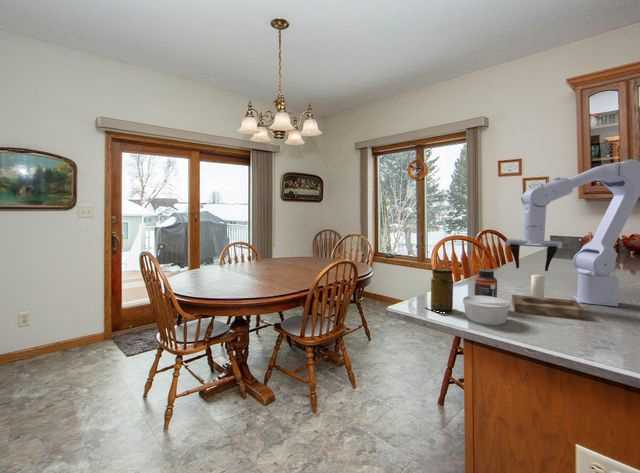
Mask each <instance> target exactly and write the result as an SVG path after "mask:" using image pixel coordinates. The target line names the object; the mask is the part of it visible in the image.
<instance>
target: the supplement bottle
mask: <svg viewBox="0 0 640 473" xmlns="http://www.w3.org/2000/svg"><path fill="white" fill-rule="evenodd" d="M476 295H478V296H491V297H497V298H498V279H497V278H496V277H495V272H494V270H492V269H486V268H485V269H484V268H483V269H482V268H481V269H478V276H475V278H474V296H476Z"/></svg>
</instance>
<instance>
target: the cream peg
mask: <svg viewBox="0 0 640 473" xmlns="http://www.w3.org/2000/svg"><path fill="white" fill-rule="evenodd" d="M530 276H531V279H530V296H531V297H543V298H545V285H546V283H545V281H546V279H545V278H546V276H545V275H542V274H531V275H530Z"/></svg>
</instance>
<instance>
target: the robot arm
mask: <svg viewBox="0 0 640 473" xmlns="http://www.w3.org/2000/svg"><path fill="white" fill-rule="evenodd" d="M598 181H599V182H600V183H602V185H604V186H605V188H607V189H608V190H609V191H610V192H612V194H613V197H612V199H611V201H610V203H609V205H608V207H607V209H606V211H605V213H604V214H603V216H602V219H601V221H600V223H599V225H598V227H597V229H596V231H595V233H594V235H593V237H592V239H591V240H590V241H589V242H587V243H585V244H584V245H583V246H582V247H581V249H580V250H579V251H578V252H577V253H575V255H574V256H573V258H572V259H573V260H572V261H573V262H572V263H573V265H574V267H575V268H576V269H577V271H576V272H578V273H577V289H576V290H577V294H576V295H573V296H572V298H573V299H574V300H575V301H576V302H577V303H578V304H579V303H580V304H591V305H598V306H599V305H602V306H609V307H610V306H612V307H619V285H620V284H619V279H618V277H617V276H616V275H614V274H611V273H612V272H614V270H615V269H616V261H617V257H618V253H617V251H616V250H615V248H614V246H615V244H616V242H617V240H618V239H619V237H620V235H621V233H622V231H623V229H624V227H625V225H626V223H627V221H628V219H629V217H630V215H631V213H632V211H633V209H634V207H635V206H636V204H637V202H638V200H639V198H640V161H639V160H637V159H633V158H632V159H626V160H624V161H619V162H613V163H606V164H602V165H599V166H598V165H597V166H595V167H592V168H590V169H588V170H585V171H583V172H581V173H579V174H577V175H574V176H572V177H570V178H568V177H563V176H562V177H560V176H556V177H553V178H552V180H551V181H549V182H547V183H540V184H538V185H537V187H536V188H528V189H526V190H525V191H524V192H523V195H522V197H521V196H520V201H521V204H522V205H523V208H524V210H523V211H524V213H523V214H524V215H523V226H522V227H523V230H522V238H521V239H520V238H518V239H517V238H516V239H515V238H514V239H513V238H510V239H509V238H507V239H506V243H505V244H506V246H509V248H510V251H511V253H512V256H513V258H514V262H515V269H520V249H521V248H520V247H521V246H522V247H538V248H546V260H545V266H544V271H545V272H548V271H549V267H550V265H551V264H550V263H551V262H552V259H553V258H554V256H555V254H556V253H557V251H558V249H562V248H563V241H558V240H557V241H556V240H545V234H546V219H547V206H548V205H550V203H551V202H553V201H555V200H558V199H561V198H564V197H565V196H569V195H571V194H572V192H573V190H574V189H575V188H578V187H580V186H583V185H586V184H589V183H592V182H598Z"/></svg>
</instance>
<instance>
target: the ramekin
mask: <svg viewBox="0 0 640 473" xmlns="http://www.w3.org/2000/svg"><path fill="white" fill-rule="evenodd" d="M462 303H463V304H464V307H463V308H464V314H465V317H466V318H467V319H468V320H469V321H471V322H473V323H476V324H479V325H486V326H500V325H504V324H505V323H506V321H507V319H508V314H509V310H510V308H511V302H509V301H508V300H506V299H504V298H501V297H498V296H497V297H491V296H478V295H476V296H475V295H467V296H465V297H464V298H463V299H462Z"/></svg>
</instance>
